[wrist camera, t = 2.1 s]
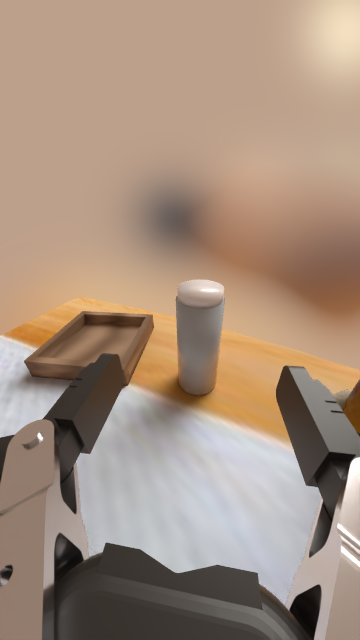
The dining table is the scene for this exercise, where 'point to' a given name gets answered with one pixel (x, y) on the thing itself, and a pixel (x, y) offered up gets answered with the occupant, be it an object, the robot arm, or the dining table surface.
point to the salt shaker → (199, 334)
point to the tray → (92, 344)
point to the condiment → (350, 405)
